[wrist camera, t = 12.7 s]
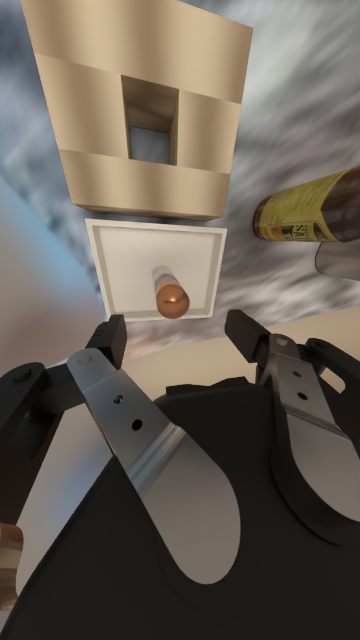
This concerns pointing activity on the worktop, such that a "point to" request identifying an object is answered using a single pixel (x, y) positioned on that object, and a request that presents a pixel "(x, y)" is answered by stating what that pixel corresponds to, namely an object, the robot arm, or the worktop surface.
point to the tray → (155, 265)
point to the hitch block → (141, 100)
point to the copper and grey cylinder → (169, 294)
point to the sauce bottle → (314, 211)
